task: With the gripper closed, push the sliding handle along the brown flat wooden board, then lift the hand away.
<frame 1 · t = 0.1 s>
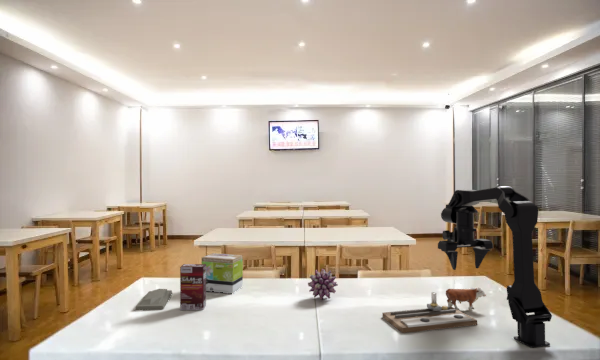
hand: (465, 269, 136), 15 cm above the table, fingers open, 9 cm apart
brown flat wooden board: (428, 320, 125), on the table
flower: (322, 299, 150), on the table
sliding handle: (434, 300, 129), point 5 cm above the table, slide at 4.0 cm
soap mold: (155, 303, 149), on the table
tea box: (222, 290, 165), on the table
bull figurine: (465, 309, 136), on the table
supplement box: (193, 308, 141), on the table
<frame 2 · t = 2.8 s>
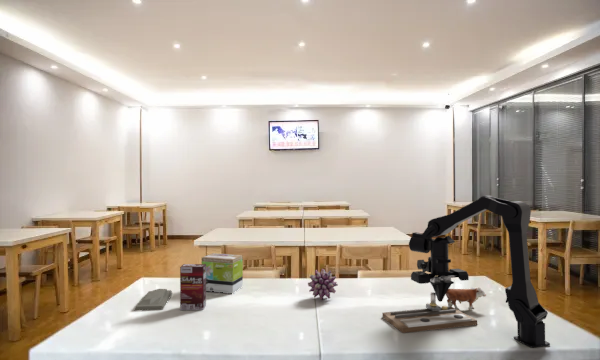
hand: (439, 301, 130), 5 cm above the table, fingers closed
sliding handle: (433, 301, 129), point 5 cm above the table, slide at 4.3 cm, touching gripper
everything else where it was.
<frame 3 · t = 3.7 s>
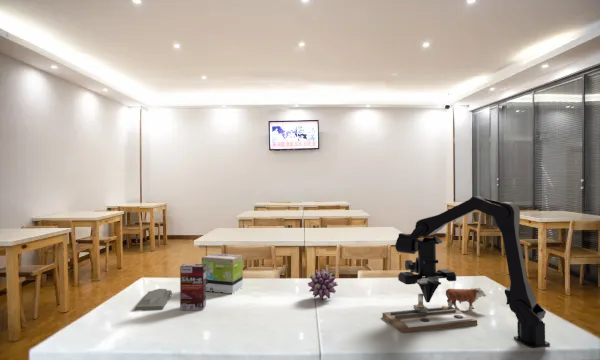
hand: (427, 302, 129), 5 cm above the table, fingers closed
sliding handle: (420, 302, 128), point 5 cm above the table, slide at 9.0 cm, touching gripper
everything else where it was.
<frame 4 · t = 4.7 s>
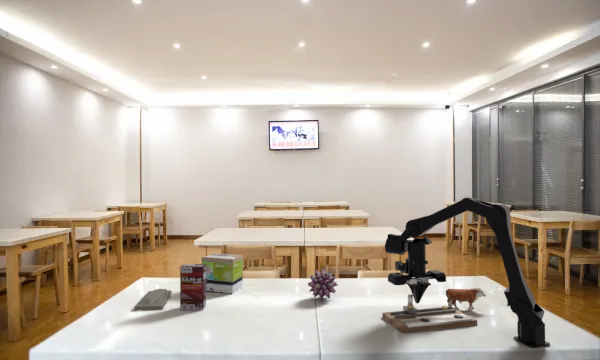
hand: (417, 303, 128), 5 cm above the table, fingers closed
sliding handle: (410, 303, 127), point 5 cm above the table, slide at 12.8 cm, touching gripper
everything else where it was.
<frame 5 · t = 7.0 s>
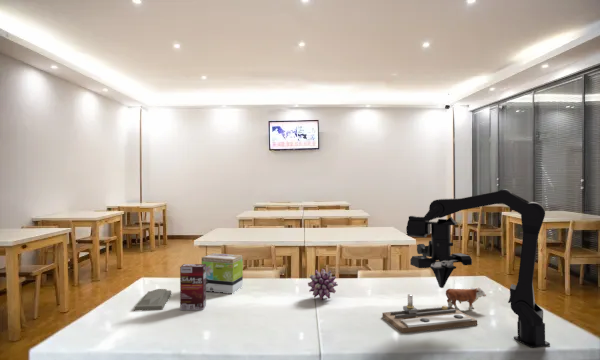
hand: (441, 287, 122), 12 cm above the table, fingers closed
sliding handle: (410, 303, 127), point 5 cm above the table, slide at 12.9 cm
everything else where it was.
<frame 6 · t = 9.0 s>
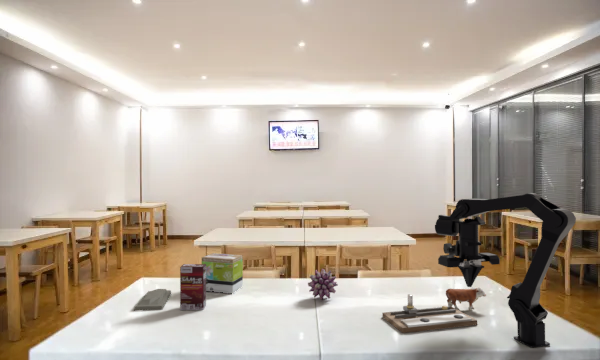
hand: (469, 286, 122), 12 cm above the table, fingers closed
nothing on the table moved.
at the end: sliding handle slide at 12.9 cm; sliding handle touching nothing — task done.
